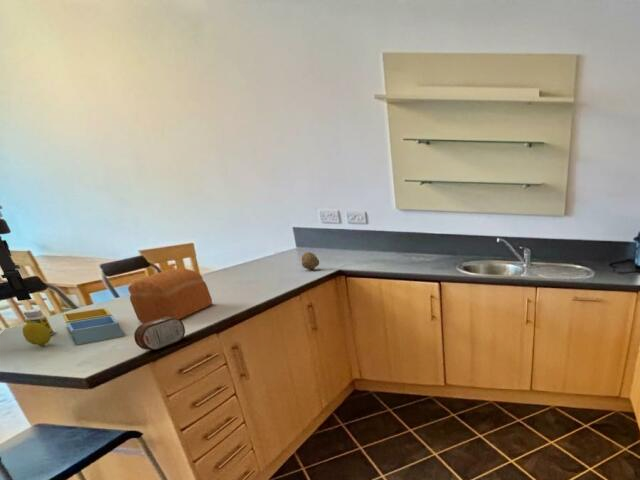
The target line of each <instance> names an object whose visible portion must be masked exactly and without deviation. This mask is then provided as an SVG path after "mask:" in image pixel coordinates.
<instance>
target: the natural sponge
mask: <svg viewBox="0 0 640 480" xmlns="http://www.w3.org/2000/svg"><path fill="white" fill-rule="evenodd" d="M319 265H320V260H319V259H318V256H317V255H316V254H314V253H313V252H311V251H308V252H304V253H303V254H302V256H301V266H302V267H303V268H304V269H305V270H308V271H313V270H315V268H317V267H319Z"/></svg>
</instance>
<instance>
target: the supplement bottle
mask: <svg viewBox="0 0 640 480" xmlns="http://www.w3.org/2000/svg"><path fill="white" fill-rule="evenodd" d="M22 312H23V316H24V317H25V318H24V321H25V323H26V324H28V323H29V322H35V323H40V324H42V325H44V326H45V327H46V328H47V329H48V330H49V332H50V334H51V336H52V335H54V330H53V328H52V326H51V324H50V322H49V320H48V318H47V316H46V315H45V314H43V311H42V309H40V308H33V309H27V310H24V311H22Z"/></svg>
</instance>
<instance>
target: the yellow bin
mask: <svg viewBox="0 0 640 480" xmlns="http://www.w3.org/2000/svg"><path fill="white" fill-rule="evenodd" d="M61 315H62V317H63V319H64V321H65V323H66V324H67V323H70V322H76V321H82V320H88V319H94V318H101V317H107V316H113V315H112V314H111V312H110V311H109V310H108V309H107V308H106V307H102V308H95V309H89V310H82V311H81V310H80V311H74V312H69V313H68V312H67V313H63V314H61Z"/></svg>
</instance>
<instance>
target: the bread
mask: <svg viewBox="0 0 640 480" xmlns="http://www.w3.org/2000/svg"><path fill="white" fill-rule="evenodd" d="M203 278H204V277H202V274H201V273H199V272H197V271H195V270H193V269H189V268H174V269H170V270H164V271H161V272H158V273H153V274H150V275H148V276H145V277H142V278H140V279H138V280H135V281H133V282H132V283H131V284H130V285H128V287H127V290H128V292H129V294H130V296H129V300H130V301H129V302H130V303H131V306H132V308H133V310H134V311H133V312H134V313H135V315H136V316H135V317H137V320H138V321H139V322H140V323H146V322H150V321H153V320H156V319H160V318H163V317H173V318H177V319H179V320H181V319H183V318H185V317H188V316H190V315H192V314H195V313H197V312H199V311H201V310H203V309H205V308H208V307H209V306H211V305H212V304H213V300H212V299H213V298H212V297H211V293H210V291H209V290H210V289H209V287H208V285H207V283H206V281H205V280H204V279H203Z"/></svg>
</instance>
